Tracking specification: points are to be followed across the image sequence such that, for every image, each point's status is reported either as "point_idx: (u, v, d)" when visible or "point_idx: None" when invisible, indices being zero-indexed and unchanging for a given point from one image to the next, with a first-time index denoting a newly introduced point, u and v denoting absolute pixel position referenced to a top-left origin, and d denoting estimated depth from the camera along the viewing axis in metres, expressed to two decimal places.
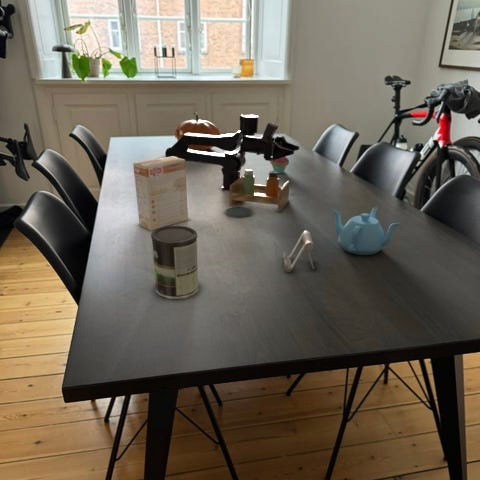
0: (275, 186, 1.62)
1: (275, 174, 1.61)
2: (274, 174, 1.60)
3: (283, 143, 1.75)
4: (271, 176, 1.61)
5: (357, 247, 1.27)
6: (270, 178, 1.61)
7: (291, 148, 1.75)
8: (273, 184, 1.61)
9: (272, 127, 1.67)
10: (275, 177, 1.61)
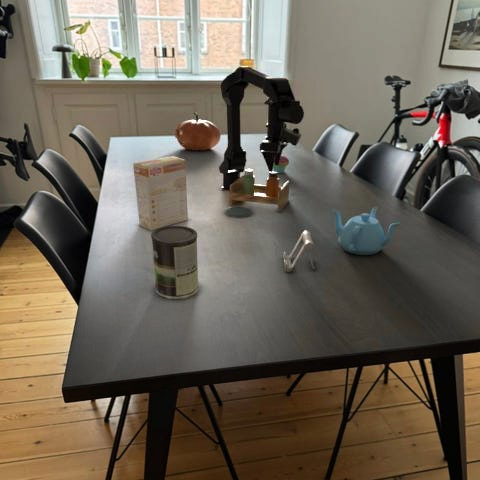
0: (275, 186, 1.62)
1: (275, 174, 1.61)
2: (274, 174, 1.60)
3: (280, 147, 1.62)
4: (271, 176, 1.61)
5: (357, 247, 1.27)
6: (270, 178, 1.61)
7: (275, 156, 1.63)
8: (273, 184, 1.61)
9: (295, 142, 1.52)
10: (275, 177, 1.61)
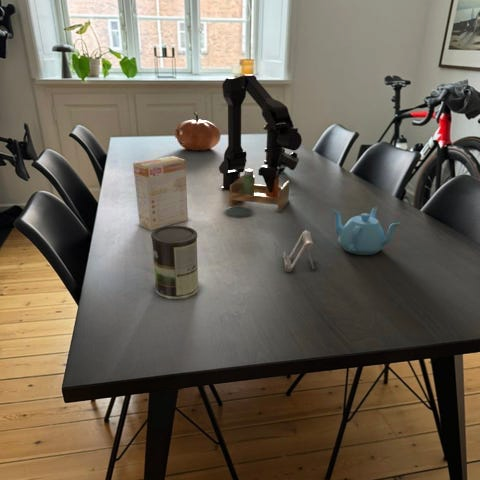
0: (275, 186, 1.62)
1: None
2: None
3: None
4: None
5: (357, 247, 1.27)
6: None
7: None
8: None
9: (293, 167, 1.56)
10: None
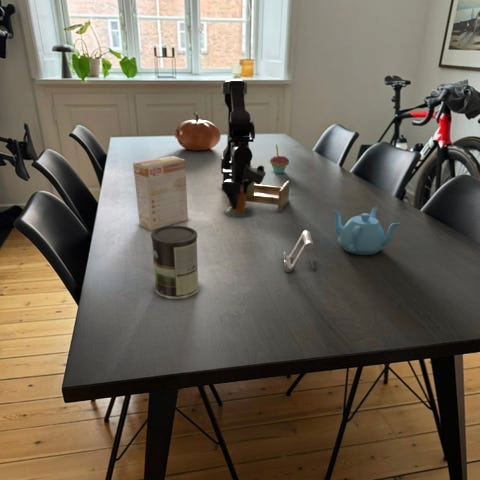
0: (242, 201, 1.55)
1: None
2: None
3: (246, 183, 1.58)
4: None
5: (357, 247, 1.27)
6: None
7: None
8: (239, 200, 1.54)
9: (258, 181, 1.49)
10: (241, 192, 1.54)
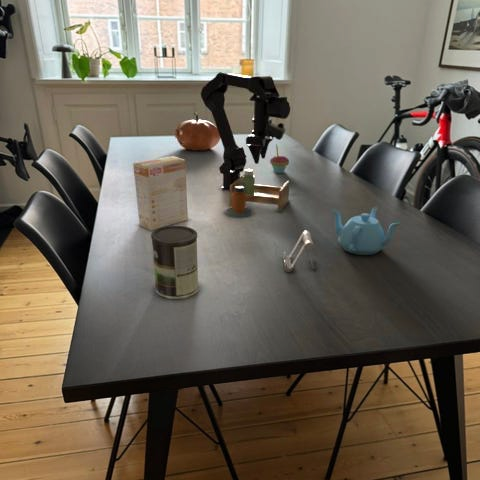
0: (242, 201, 1.55)
1: (241, 189, 1.53)
2: (240, 189, 1.53)
3: (266, 141, 1.71)
4: (237, 191, 1.54)
5: (357, 247, 1.27)
6: (236, 193, 1.54)
7: (262, 150, 1.73)
8: (239, 200, 1.54)
9: (279, 136, 1.62)
10: (241, 192, 1.54)
